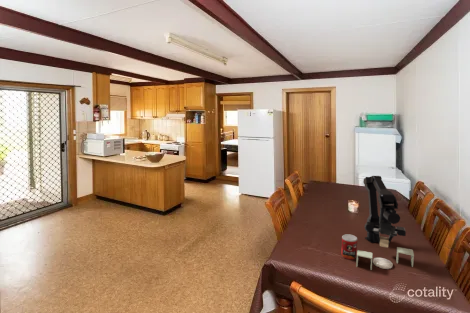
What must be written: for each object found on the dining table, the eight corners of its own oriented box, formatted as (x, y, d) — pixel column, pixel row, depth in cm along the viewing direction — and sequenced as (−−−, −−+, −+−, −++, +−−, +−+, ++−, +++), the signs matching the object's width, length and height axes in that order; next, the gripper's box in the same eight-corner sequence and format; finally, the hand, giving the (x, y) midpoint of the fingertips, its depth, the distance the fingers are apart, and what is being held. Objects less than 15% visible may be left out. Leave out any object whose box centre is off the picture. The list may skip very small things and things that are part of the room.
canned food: (341, 258, 143) (342, 239, 142) (341, 251, 151) (342, 233, 149) (356, 261, 140) (357, 241, 139) (356, 253, 148) (356, 235, 146)
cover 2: (396, 258, 142) (397, 246, 141) (411, 261, 139) (412, 249, 138) (396, 263, 137) (397, 251, 136) (412, 266, 134) (413, 254, 133)
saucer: (368, 260, 141) (369, 258, 140) (383, 258, 142) (383, 256, 142) (381, 270, 132) (381, 268, 132) (396, 267, 134) (397, 265, 133)
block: (379, 242, 148) (380, 236, 147) (387, 244, 146) (388, 237, 145) (379, 246, 144) (380, 239, 144) (388, 247, 142) (388, 240, 142)
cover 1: (356, 261, 140) (357, 249, 139) (371, 264, 137) (372, 252, 136) (356, 266, 135) (356, 254, 134) (371, 270, 132) (372, 258, 131)
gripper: (365, 218, 140) (364, 246, 142) (407, 224, 131) (405, 254, 133) (366, 211, 149) (365, 237, 152) (405, 217, 141) (403, 244, 143)
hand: (383, 243), depth 145 cm, fingers closed on block, 4 cm apart
